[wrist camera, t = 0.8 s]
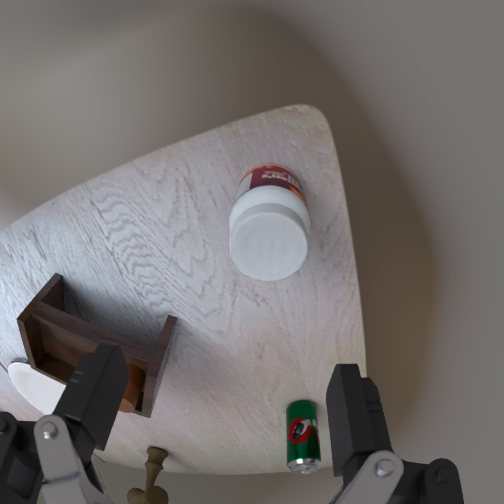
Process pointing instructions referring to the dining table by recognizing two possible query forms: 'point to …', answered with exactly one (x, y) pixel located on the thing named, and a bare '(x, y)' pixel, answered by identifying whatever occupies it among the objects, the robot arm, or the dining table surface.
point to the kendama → (150, 481)
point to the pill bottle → (269, 224)
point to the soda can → (302, 438)
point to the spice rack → (89, 347)
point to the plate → (36, 387)
